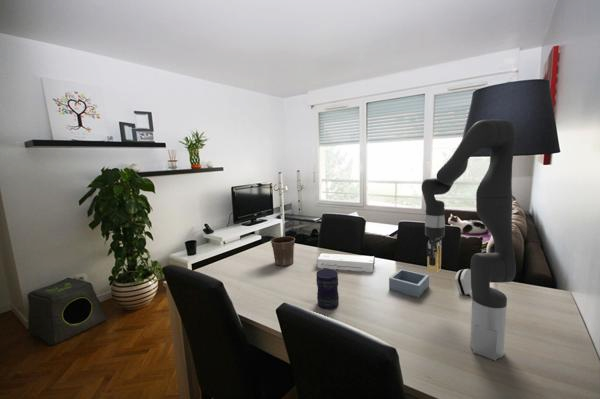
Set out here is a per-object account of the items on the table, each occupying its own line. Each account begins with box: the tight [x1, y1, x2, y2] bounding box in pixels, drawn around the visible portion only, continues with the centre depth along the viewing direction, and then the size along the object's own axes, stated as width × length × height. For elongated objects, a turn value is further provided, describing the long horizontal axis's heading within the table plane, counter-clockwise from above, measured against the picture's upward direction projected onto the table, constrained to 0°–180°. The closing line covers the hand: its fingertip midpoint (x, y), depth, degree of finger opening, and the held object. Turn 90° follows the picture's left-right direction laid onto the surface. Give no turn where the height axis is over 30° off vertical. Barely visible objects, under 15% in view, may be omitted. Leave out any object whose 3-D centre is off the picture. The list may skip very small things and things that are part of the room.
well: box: [388, 268, 430, 299], centre depth 133 cm, size 14×14×6 cm
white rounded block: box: [454, 268, 472, 298], centre depth 130 cm, size 17×5×10 cm, turn 136°
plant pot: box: [270, 236, 296, 266], centre depth 175 cm, size 16×16×16 cm
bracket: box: [426, 246, 442, 274], centre depth 114 cm, size 5×4×10 cm
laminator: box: [316, 252, 376, 273], centre depth 165 cm, size 34×12×6 cm, turn 72°
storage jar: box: [316, 268, 340, 311], centre depth 121 cm, size 10×10×15 cm
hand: (434, 263), depth 115 cm, fingers closed on bracket, 5 cm apart
